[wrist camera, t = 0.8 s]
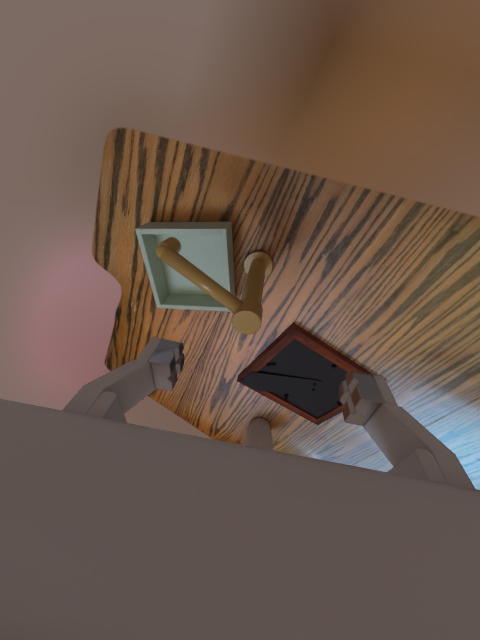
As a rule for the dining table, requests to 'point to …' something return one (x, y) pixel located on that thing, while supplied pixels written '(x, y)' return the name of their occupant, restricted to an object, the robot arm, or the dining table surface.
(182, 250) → the sink
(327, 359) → the picture frame
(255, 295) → the faucet base
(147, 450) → the robot arm
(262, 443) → the cup
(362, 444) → the dining table surface
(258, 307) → the spout
